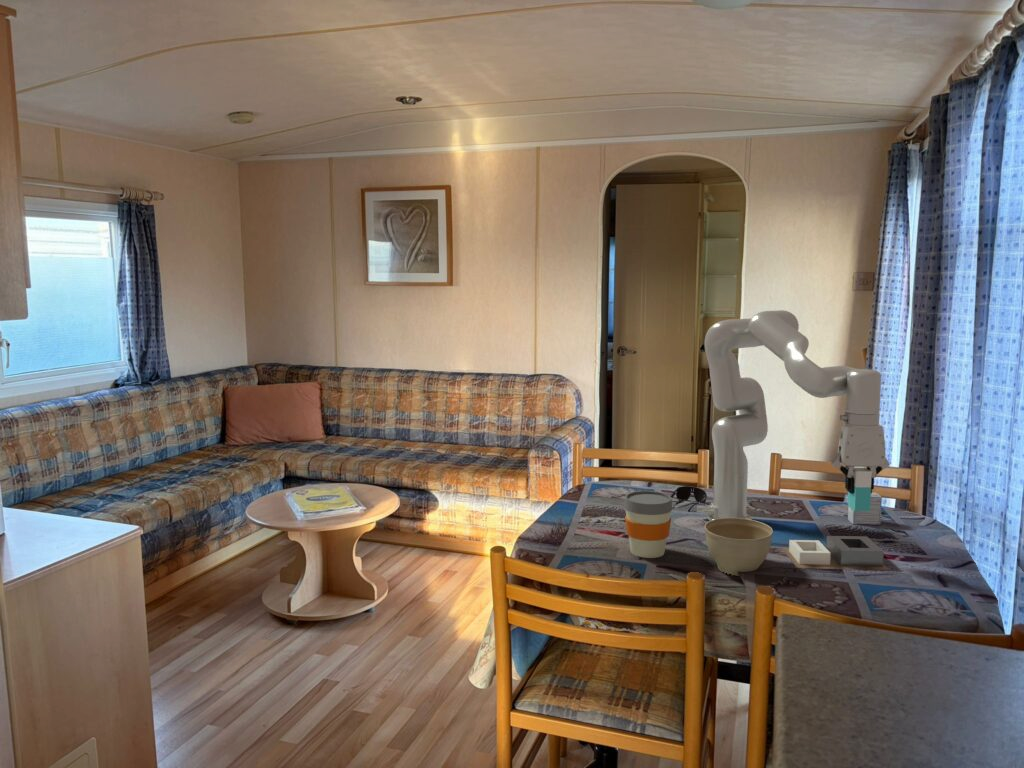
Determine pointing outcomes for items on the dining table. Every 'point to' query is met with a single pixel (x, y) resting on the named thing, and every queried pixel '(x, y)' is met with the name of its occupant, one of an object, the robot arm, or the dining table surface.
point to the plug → (861, 490)
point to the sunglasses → (685, 493)
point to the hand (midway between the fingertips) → (859, 491)
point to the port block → (855, 551)
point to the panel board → (832, 565)
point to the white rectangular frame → (809, 552)
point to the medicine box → (867, 512)
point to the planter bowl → (738, 543)
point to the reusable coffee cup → (647, 522)
